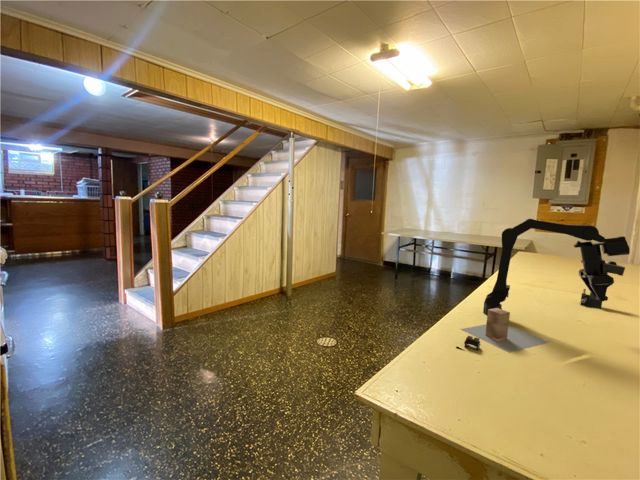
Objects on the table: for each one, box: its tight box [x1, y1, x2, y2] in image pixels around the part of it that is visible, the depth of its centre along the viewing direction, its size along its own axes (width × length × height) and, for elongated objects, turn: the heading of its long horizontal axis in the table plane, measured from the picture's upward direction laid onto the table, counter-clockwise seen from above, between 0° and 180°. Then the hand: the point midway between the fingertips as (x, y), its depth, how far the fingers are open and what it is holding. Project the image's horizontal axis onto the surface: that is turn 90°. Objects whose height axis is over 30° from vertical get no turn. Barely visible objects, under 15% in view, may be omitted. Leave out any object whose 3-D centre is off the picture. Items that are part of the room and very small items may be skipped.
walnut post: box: [485, 308, 511, 341], centre depth 114 cm, size 5×5×10 cm
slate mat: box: [460, 323, 550, 353], centre depth 117 cm, size 20×22×1 cm
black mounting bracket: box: [455, 335, 481, 352], centre depth 106 cm, size 12×7×5 cm, turn 52°
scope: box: [580, 288, 609, 310], centre depth 156 cm, size 8×14×10 cm
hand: (598, 298), depth 118 cm, fingers open, 9 cm apart
